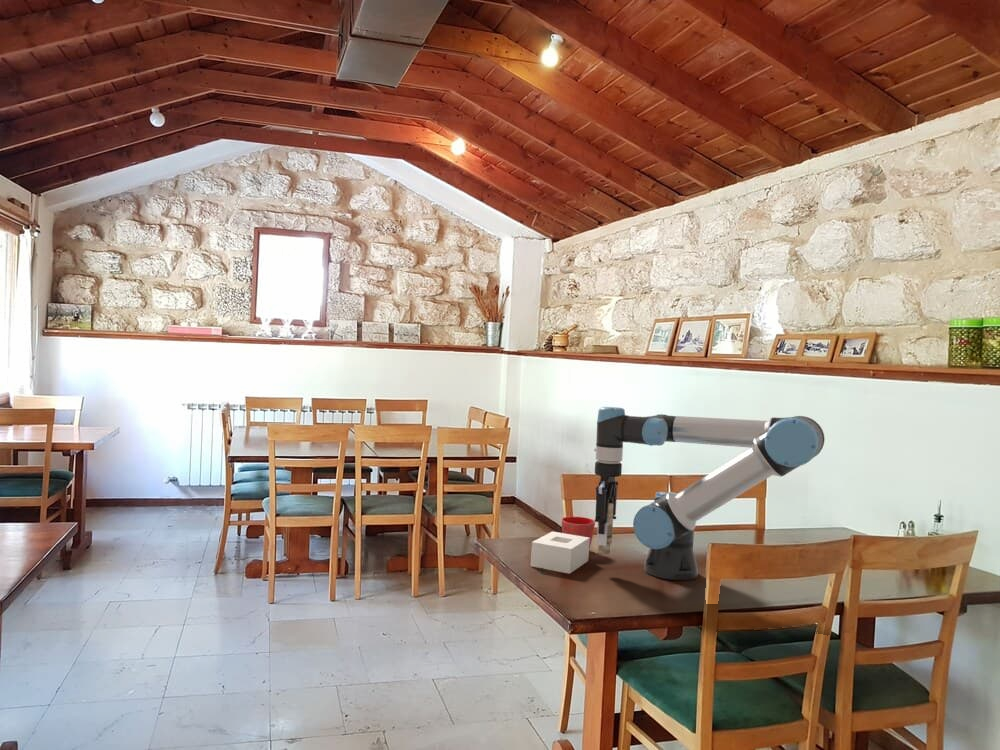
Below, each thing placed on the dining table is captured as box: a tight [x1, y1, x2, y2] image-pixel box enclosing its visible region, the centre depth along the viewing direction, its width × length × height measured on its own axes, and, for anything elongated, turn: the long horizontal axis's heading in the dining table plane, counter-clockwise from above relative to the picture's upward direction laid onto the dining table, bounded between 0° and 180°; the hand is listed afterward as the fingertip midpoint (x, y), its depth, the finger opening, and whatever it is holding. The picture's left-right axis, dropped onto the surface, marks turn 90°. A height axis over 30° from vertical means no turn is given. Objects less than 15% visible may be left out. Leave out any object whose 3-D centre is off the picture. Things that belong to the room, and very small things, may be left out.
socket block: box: [529, 531, 590, 574], centre depth 219 cm, size 12×16×7 cm
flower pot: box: [561, 516, 596, 550], centre depth 235 cm, size 11×11×10 cm
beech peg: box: [597, 503, 614, 555], centre depth 212 cm, size 4×4×14 cm
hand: (604, 543), depth 212 cm, fingers closed on beech peg, 4 cm apart
